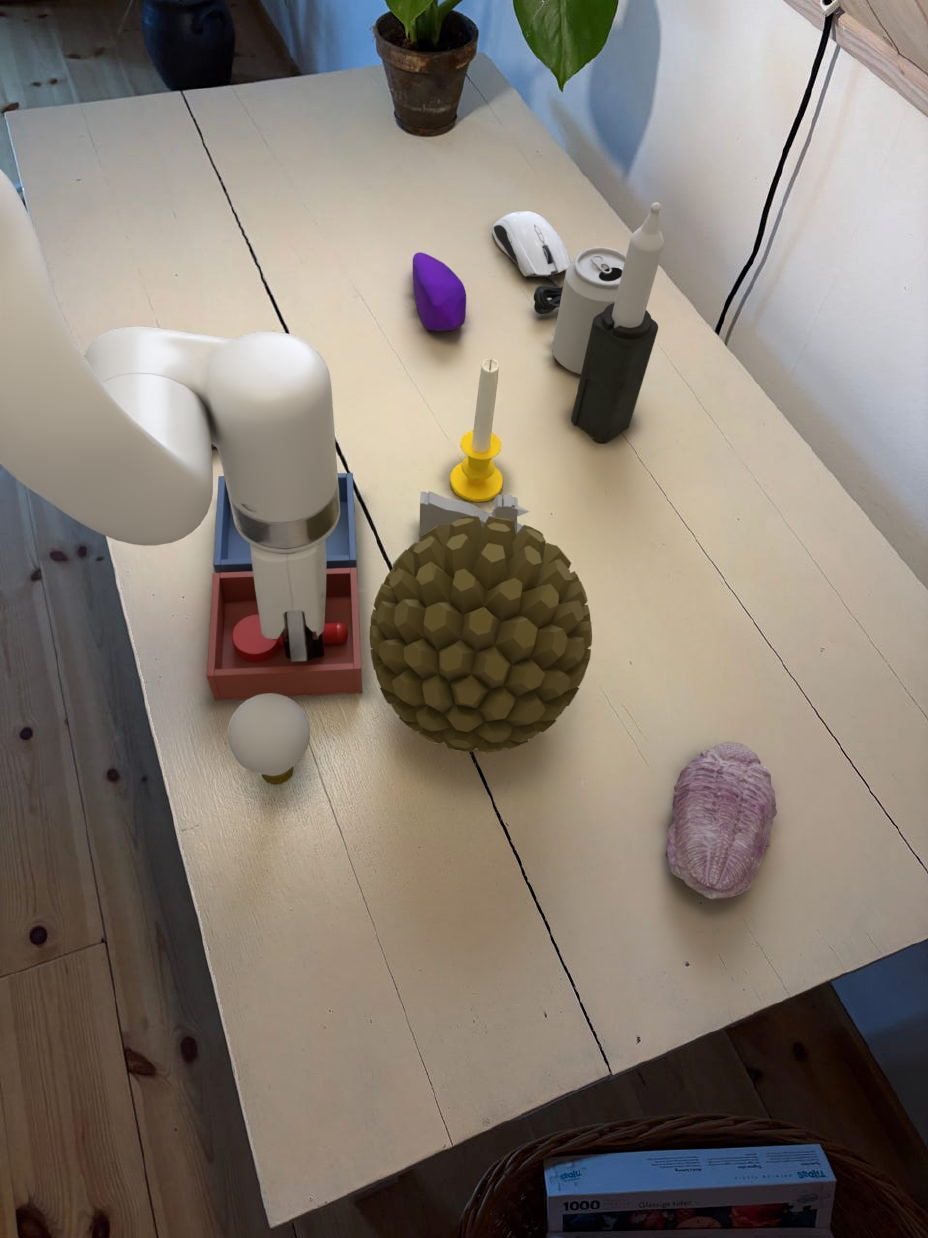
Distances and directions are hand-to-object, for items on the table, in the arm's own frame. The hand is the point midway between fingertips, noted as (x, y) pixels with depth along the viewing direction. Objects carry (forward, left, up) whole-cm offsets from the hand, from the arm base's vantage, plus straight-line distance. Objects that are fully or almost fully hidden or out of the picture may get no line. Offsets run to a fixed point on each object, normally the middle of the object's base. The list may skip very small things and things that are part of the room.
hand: (305, 638), depth 81 cm
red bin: (-1, 0, -1) cm, 2 cm away
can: (+31, +36, -1) cm, 47 cm away
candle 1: (+17, +18, -1) cm, 24 cm away
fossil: (+32, -19, -1) cm, 37 cm away
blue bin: (-1, +11, -1) cm, 11 cm away
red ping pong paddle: (-1, 0, 0) cm, 1 cm away
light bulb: (-2, -12, -1) cm, 12 cm away
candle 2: (+31, +26, -1) cm, 40 cm away
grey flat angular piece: (+16, +11, -1) cm, 19 cm away
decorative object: (+14, -6, -1) cm, 15 cm away
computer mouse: (+28, +52, -1) cm, 59 cm away
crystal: (+15, +45, -1) cm, 47 cm away
